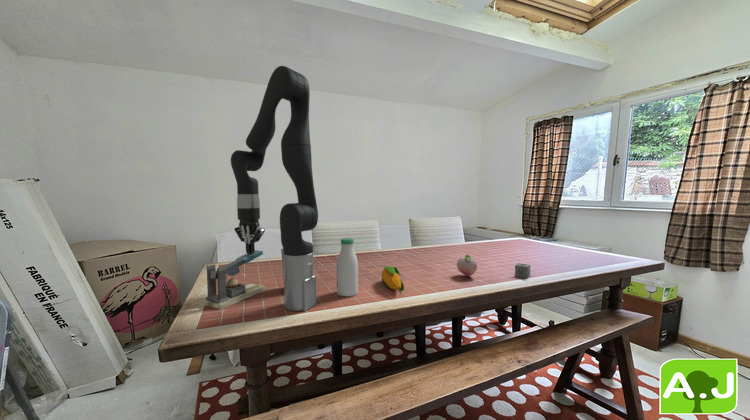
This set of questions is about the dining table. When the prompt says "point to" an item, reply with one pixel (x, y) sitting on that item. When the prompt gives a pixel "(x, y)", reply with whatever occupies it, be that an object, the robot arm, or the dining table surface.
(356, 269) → the milk bottle
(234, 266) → the lever
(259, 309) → the dining table surface
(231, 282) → the nut
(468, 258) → the decorative fruit
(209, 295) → the cracker base
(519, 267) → the grey cube
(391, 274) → the corn
